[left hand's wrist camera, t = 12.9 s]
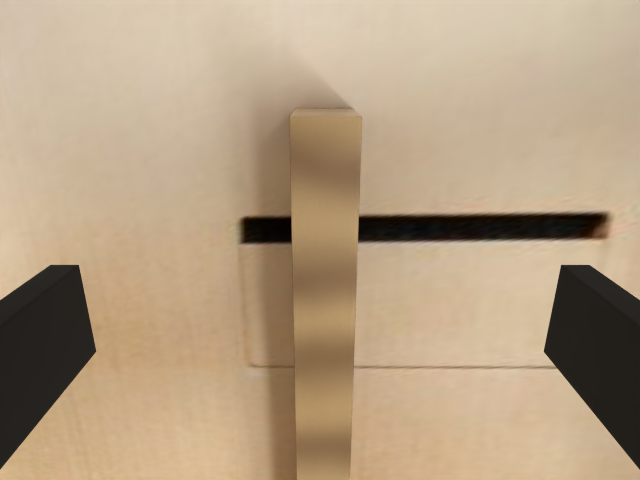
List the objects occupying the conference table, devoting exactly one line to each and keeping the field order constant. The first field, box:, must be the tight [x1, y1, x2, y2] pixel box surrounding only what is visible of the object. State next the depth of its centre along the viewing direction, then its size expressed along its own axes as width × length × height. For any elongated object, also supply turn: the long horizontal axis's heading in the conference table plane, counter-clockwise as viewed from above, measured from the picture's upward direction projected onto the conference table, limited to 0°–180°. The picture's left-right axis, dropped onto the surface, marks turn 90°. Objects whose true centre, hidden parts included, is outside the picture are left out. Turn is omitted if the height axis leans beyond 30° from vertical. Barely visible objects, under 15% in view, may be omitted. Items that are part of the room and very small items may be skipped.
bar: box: [289, 108, 362, 480], centre depth 41 cm, size 54×5×8 cm, turn 0°
